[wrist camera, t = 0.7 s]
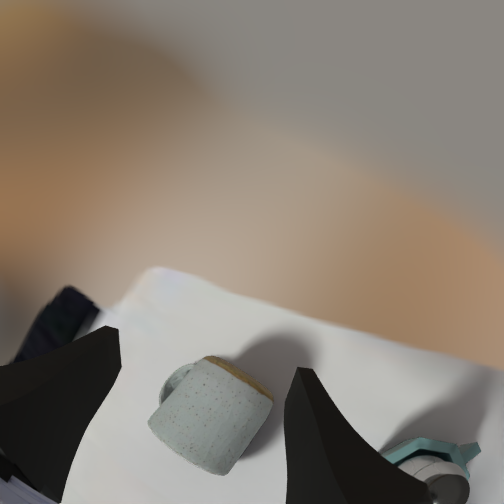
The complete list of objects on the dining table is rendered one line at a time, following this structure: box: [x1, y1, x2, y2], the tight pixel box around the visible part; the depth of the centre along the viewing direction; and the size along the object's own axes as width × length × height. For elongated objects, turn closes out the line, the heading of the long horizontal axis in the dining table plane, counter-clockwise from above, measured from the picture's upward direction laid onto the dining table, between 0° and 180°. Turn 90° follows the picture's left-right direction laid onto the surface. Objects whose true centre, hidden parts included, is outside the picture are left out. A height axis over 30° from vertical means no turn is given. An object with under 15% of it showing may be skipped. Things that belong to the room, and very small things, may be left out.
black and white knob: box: [397, 455, 470, 504], centre depth 11 cm, size 6×6×6 cm
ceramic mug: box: [148, 356, 274, 476], centre depth 22 cm, size 11×8×8 cm
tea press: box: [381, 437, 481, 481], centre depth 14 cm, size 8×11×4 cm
